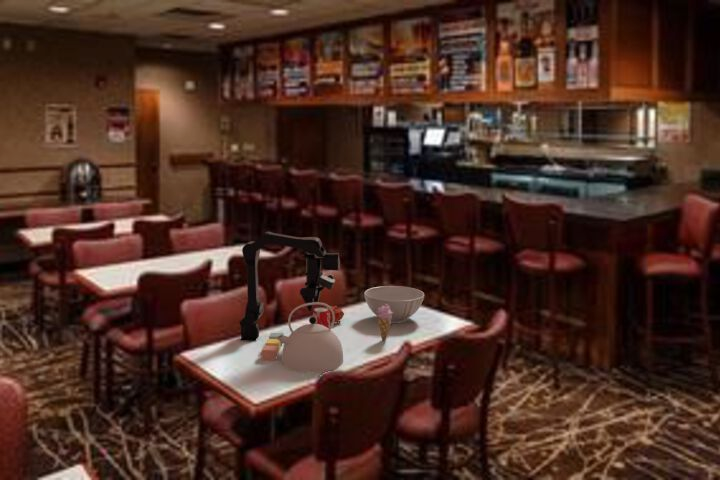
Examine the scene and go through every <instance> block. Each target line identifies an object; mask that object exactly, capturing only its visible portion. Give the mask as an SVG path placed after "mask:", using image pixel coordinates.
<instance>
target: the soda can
mask: <svg viewBox="0 0 720 480" xmlns="http://www.w3.org/2000/svg"><path fill="white" fill-rule="evenodd" d="M312 317H315V318H316V322H315V323H314V324H320V325H323V326H325V327H327V328H329V327H330V325H331V323H330V313H329V311H328V309H327V308H324V307H315V308H314V309H313V312H312Z"/></svg>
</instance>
